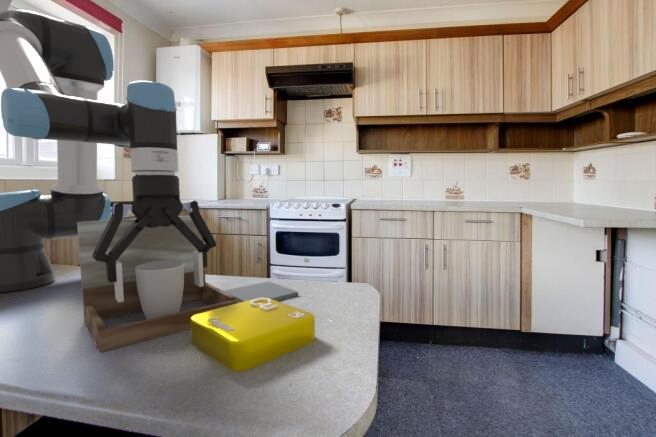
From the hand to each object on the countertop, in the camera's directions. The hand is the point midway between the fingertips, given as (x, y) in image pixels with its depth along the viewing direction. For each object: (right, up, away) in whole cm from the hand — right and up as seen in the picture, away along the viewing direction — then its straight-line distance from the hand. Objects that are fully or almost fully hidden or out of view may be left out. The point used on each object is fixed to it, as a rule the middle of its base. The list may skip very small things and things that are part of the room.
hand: (162, 292), depth 65 cm
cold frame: (0, -5, +1) cm, 5 cm away
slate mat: (+15, -4, +15) cm, 22 cm away
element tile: (+18, -6, -8) cm, 21 cm away
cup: (0, -5, +1) cm, 5 cm away
